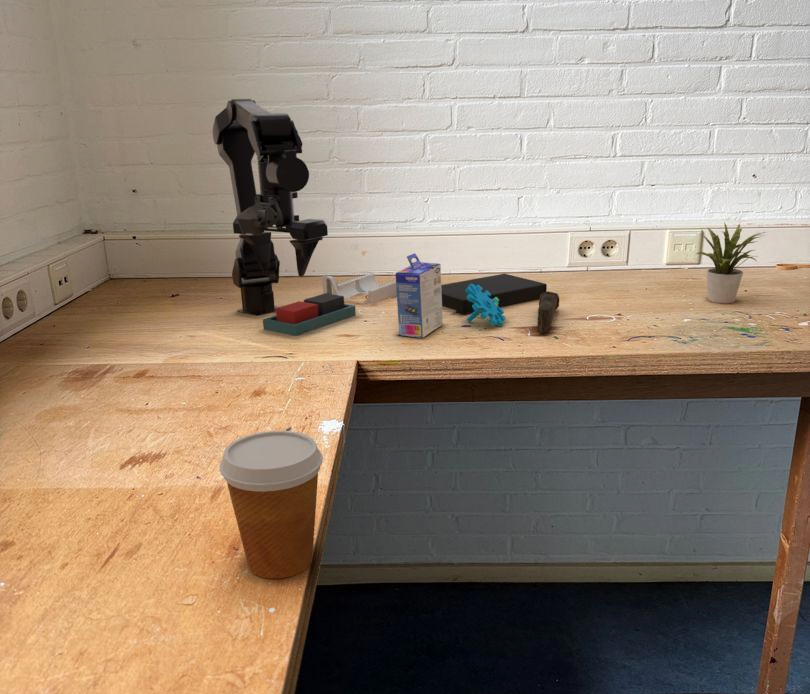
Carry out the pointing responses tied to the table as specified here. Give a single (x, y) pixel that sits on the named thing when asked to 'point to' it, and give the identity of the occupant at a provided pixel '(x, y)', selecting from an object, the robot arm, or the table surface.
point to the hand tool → (547, 310)
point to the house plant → (726, 266)
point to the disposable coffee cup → (274, 499)
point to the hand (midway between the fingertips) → (283, 273)
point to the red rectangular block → (297, 312)
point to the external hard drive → (492, 291)
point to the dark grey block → (327, 303)
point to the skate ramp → (360, 288)
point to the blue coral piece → (484, 305)
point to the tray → (309, 322)
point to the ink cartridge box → (419, 298)
